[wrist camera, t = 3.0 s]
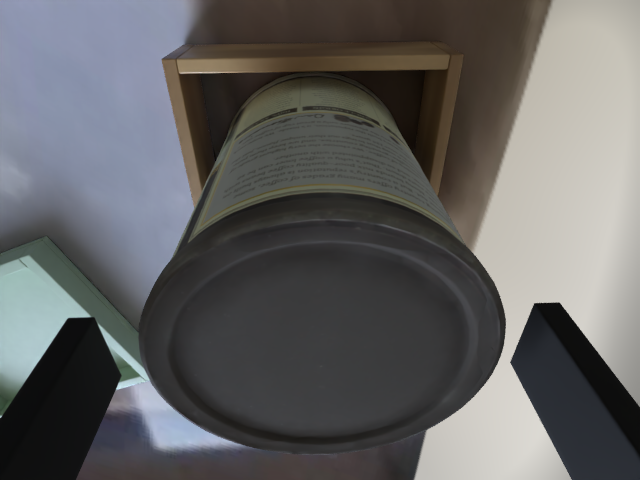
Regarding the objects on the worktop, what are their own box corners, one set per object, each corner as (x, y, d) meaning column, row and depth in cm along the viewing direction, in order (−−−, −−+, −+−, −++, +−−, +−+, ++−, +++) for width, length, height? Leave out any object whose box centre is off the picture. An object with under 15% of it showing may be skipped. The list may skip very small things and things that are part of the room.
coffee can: (417, 212, 25) (512, 426, 13) (264, 252, 26) (232, 477, 15) (384, 39, 19) (501, 154, 8) (191, 103, 21) (48, 281, 9)
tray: (46, 235, 25) (28, 254, 24) (163, 358, 32) (155, 379, 31) (-133, 302, 28) (-160, 323, 26) (11, 401, 35) (-4, 423, 33)
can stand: (441, 40, 19) (464, 54, 16) (410, 248, 27) (422, 282, 24) (182, 44, 19) (161, 58, 16) (221, 252, 26) (211, 288, 23)
